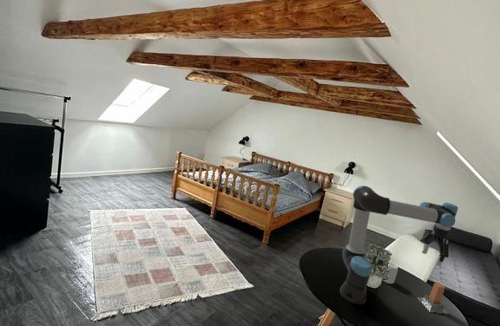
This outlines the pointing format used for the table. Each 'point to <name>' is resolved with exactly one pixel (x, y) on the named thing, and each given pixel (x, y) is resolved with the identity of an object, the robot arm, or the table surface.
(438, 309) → the grey square socket
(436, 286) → the orange square peg
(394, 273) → the beverage can
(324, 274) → the table surface
